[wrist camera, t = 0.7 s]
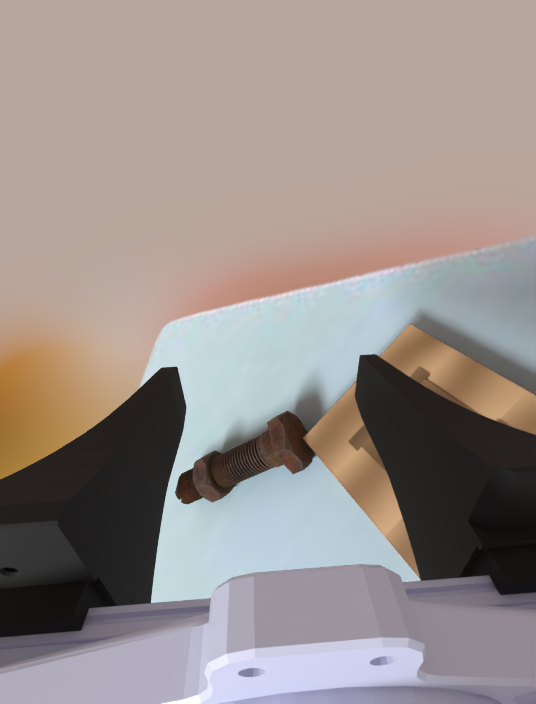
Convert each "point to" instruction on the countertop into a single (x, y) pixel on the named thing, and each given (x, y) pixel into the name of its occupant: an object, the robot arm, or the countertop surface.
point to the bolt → (247, 461)
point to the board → (437, 375)
